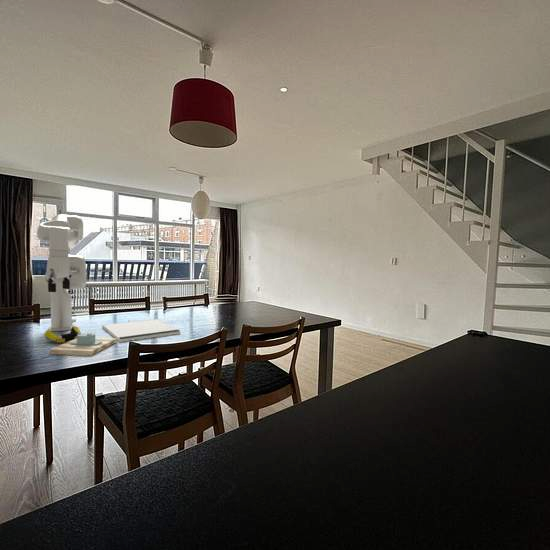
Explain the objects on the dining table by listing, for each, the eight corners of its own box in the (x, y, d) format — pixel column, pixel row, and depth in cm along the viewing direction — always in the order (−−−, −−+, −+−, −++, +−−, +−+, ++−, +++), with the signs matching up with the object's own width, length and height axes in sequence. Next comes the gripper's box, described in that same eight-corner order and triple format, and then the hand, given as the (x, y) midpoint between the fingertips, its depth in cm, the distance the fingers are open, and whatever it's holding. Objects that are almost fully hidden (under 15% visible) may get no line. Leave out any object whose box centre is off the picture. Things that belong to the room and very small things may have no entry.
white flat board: (180, 330, 175) (119, 338, 155) (180, 334, 175) (119, 343, 155) (156, 319, 201) (102, 324, 181) (156, 322, 202) (102, 329, 181)
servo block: (75, 346, 146) (75, 331, 146) (101, 347, 146) (101, 332, 146) (70, 348, 142) (70, 333, 142) (96, 349, 142) (96, 334, 142)
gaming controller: (43, 341, 152) (52, 345, 146) (42, 330, 151) (52, 334, 146) (76, 335, 164) (86, 339, 159) (76, 325, 164) (86, 328, 159)
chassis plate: (80, 340, 155) (80, 336, 155) (116, 342, 154) (116, 338, 154) (50, 353, 135) (49, 349, 135) (91, 355, 134) (91, 351, 134)
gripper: (63, 252, 156) (63, 287, 158) (37, 254, 139) (37, 292, 140) (78, 253, 156) (78, 288, 158) (54, 255, 139) (54, 293, 140)
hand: (59, 290), depth 149 cm, fingers open, 9 cm apart
